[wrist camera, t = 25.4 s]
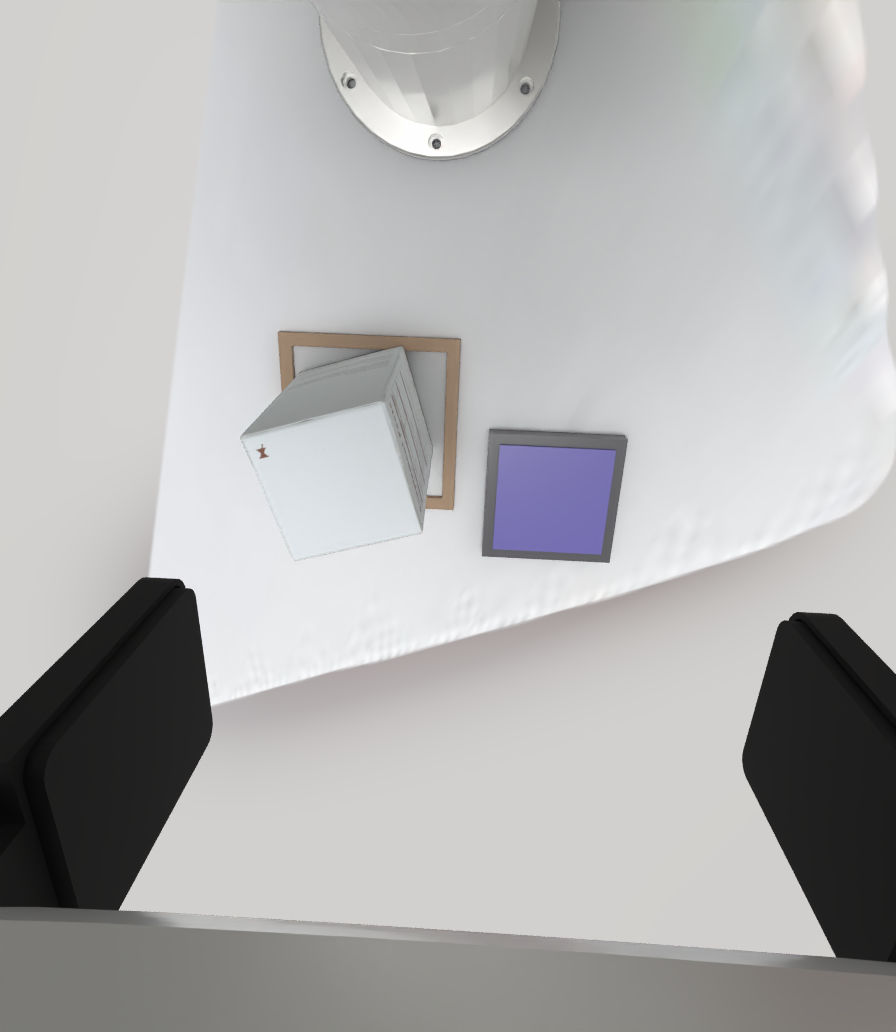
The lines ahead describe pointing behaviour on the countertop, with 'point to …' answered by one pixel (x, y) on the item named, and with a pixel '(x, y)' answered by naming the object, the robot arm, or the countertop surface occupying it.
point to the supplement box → (344, 455)
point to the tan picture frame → (384, 343)
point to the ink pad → (552, 495)
